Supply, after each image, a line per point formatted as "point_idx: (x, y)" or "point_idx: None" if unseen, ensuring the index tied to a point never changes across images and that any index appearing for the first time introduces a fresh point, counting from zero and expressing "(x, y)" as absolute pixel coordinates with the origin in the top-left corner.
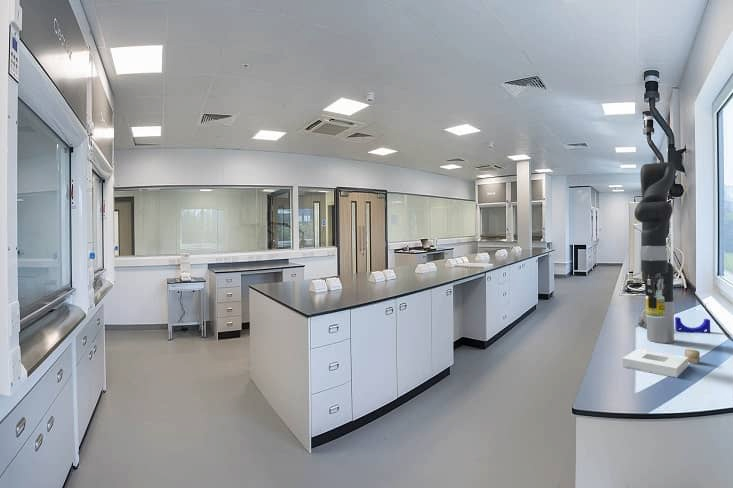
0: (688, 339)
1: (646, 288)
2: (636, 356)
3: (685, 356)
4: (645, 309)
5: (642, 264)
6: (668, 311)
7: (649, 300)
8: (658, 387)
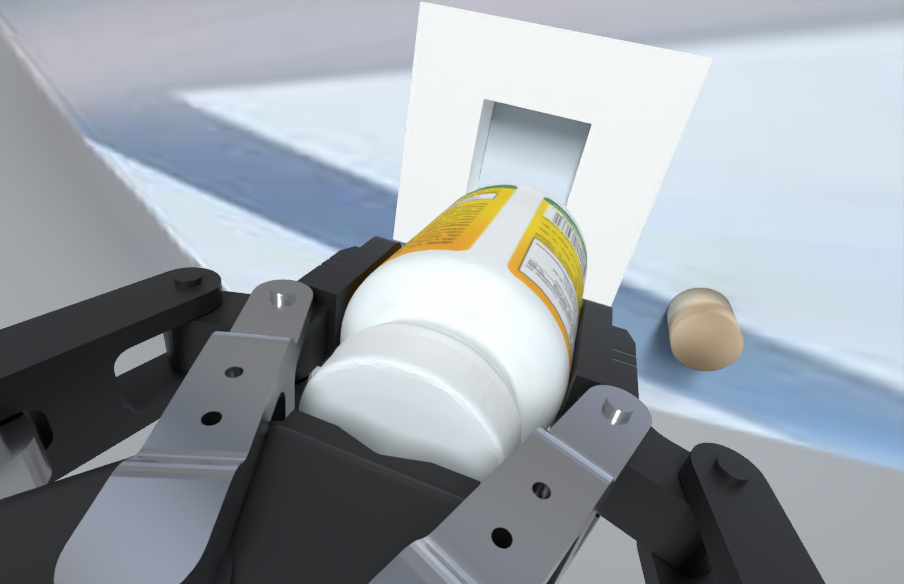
0: None
1: (52, 332)
2: (498, 72)
3: (695, 301)
4: None
5: None
6: None
7: (304, 278)
8: (269, 163)
